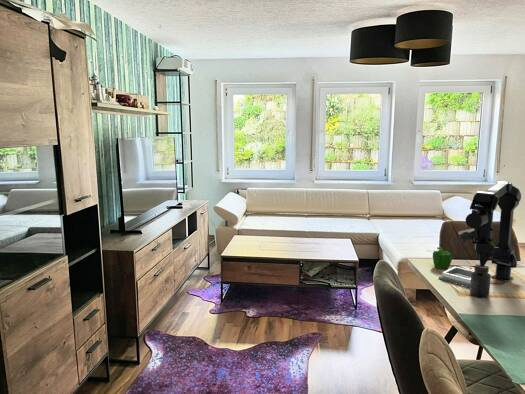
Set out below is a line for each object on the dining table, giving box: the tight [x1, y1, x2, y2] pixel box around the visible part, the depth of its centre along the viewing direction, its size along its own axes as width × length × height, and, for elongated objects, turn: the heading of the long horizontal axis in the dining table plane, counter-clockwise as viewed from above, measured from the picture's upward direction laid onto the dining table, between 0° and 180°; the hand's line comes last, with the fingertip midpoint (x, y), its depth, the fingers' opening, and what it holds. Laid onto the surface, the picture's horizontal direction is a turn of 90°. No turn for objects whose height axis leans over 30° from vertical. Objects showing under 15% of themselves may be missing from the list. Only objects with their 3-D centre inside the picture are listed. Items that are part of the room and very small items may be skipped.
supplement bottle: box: [469, 264, 492, 299], centre depth 158 cm, size 7×7×12 cm
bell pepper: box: [432, 246, 453, 270], centre depth 190 cm, size 8×8×10 cm
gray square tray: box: [438, 266, 475, 288], centre depth 175 cm, size 14×14×3 cm
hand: (480, 262), depth 157 cm, fingers open, 9 cm apart
